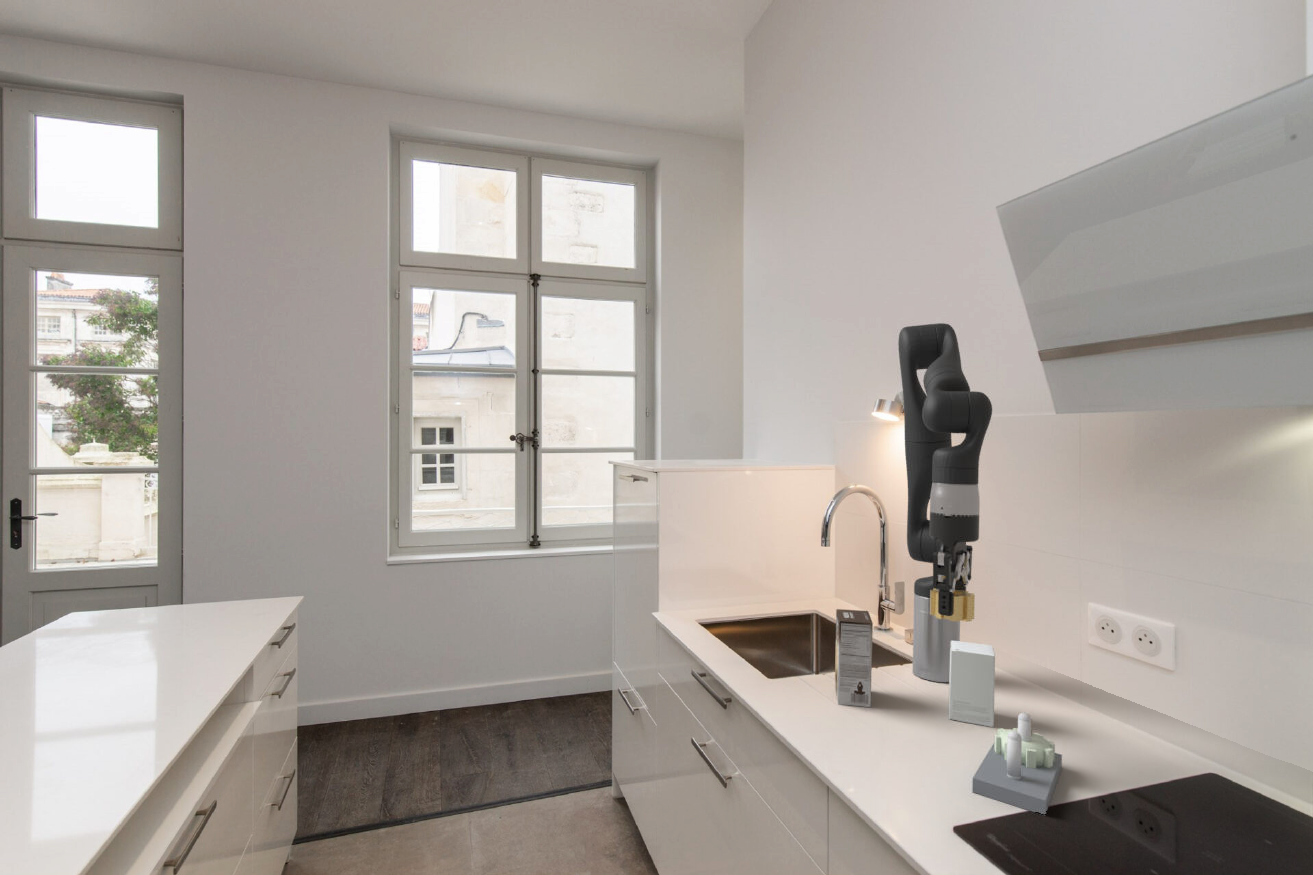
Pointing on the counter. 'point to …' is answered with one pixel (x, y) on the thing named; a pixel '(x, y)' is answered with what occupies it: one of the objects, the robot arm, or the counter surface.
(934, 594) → the brass gear
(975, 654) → the supplement box
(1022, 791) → the gear board
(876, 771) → the counter surface
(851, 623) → the coffee box
